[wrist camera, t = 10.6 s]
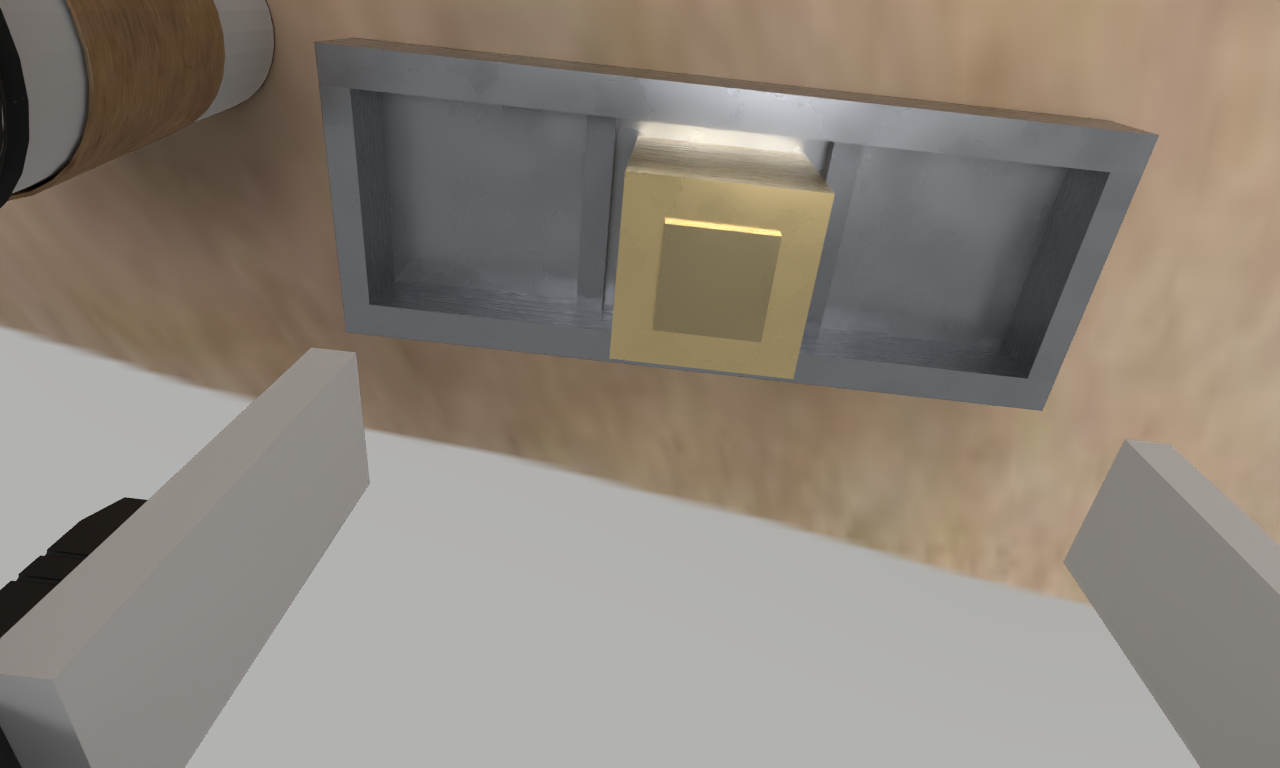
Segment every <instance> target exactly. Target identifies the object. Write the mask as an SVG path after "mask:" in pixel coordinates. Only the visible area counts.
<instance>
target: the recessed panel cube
mask: <svg viewBox="0 0 1280 768" xmlns="http://www.w3.org/2000/svg"><path fill="white" fill-rule="evenodd" d="M834 196H835V194H834V192H833V191H832V190H831V188H830V187H829V186H828V184H827V183H826V182H825V180H824V179H823V178H822V176H821V175H820V174H819V172H818V171H817V170H816V168H815V167H814V166H813V164H812V163H811V162H810V160H809V159H808V158H807V156H806V155H805V154H800V153H791V152H782V151H773V150H764V149H755V148H746V147H737V146H728V145H719V144H710V143H701V142H692V141H683V140H674V139H665V138H656V137H647V136H638V137H637V140H636V143H635V145H634V148H633V151H632V154H631V156H630V159H629V162H628V164H627V167H626V170H625V179H624V190H623V202H622V214H621V226H620V238H619V249H618V261H617V273H616V285H615V297H614V309H613V320H612V332H611V344H610V356H609V358H610V359H619V360H627V361H636V362H645V363H654V364H663V365H672V366H680V367H689V368H698V369H707V370H716V371H725V372H734V373H742V374H751V375H760V376H769V377H778V378H787V379H793V378H794V373H795V369H796V364H797V360H798V355H799V351H800V347H801V342H802V338H803V333H804V329H805V324H806V320H807V315H808V311H809V307H810V302H811V298H812V293H813V289H814V284H815V280H816V275H817V271H818V267H819V262H820V258H821V253H822V249H823V244H824V240H825V236H826V231H827V227H828V222H829V218H830V213H831V209H832V204H833V200H834Z"/></svg>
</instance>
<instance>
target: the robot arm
mask: <svg viewBox="0 0 1280 768" xmlns="http://www.w3.org/2000/svg"><path fill="white" fill-rule="evenodd" d="M368 485H369V474H368V463H367V454H366V444H365V434H364V425H363V415H362V405H361V396H360V386H359V377H358V367H357V357H356V352H348V351H339V350H330V349H321V348H312V347H311V348H310V349H309V350H308V351H307V352H306V353H305V354H304V355H303V356H302V357H300V358H299V359H298V360H297V361H296V362H295V363H294V364H293V365H292V366H291V367H290V368H289V369H288V370H287V371H286V372H284V373H283V374H282V375H281V376H280V377H279V378H278V379H277V380H276V381H275V382H274V383H273V384H272V385H271V386H269V387H268V388H267V389H266V390H265V391H264V392H263V393H262V394H261V395H260V396H259V397H258V398H257V399H256V400H255V401H253V402H252V403H251V404H250V405H249V406H248V407H247V408H246V409H245V410H244V411H243V412H242V413H241V414H240V415H238V416H237V417H236V418H235V419H234V420H233V421H232V422H231V423H230V424H229V425H228V426H227V427H226V428H225V429H224V430H222V432H220V433H219V434H218V435H217V436H216V437H215V438H214V439H213V440H212V441H211V442H210V443H209V444H207V445H206V446H205V447H204V448H203V449H202V450H201V451H200V452H199V453H198V454H197V455H196V456H195V457H194V458H193V459H192V460H190V461H189V462H188V463H187V464H186V465H185V466H184V467H183V468H182V469H181V470H180V471H179V472H178V473H176V474H175V475H174V476H173V477H172V478H171V479H170V480H169V481H168V482H167V483H166V484H165V485H164V486H163V487H162V488H160V490H158V491H157V492H156V493H155V494H154V495H153V496H152V497H151V498H150V499H149V500H142V499H134V498H123V499H121V500H119V501H117V502H115V503H113V504H111V505H109V506H107V507H106V508H104V509H102V510H100V511H98V512H96V513H94V514H93V515H90V516H88V517H87V518H85V519H83V520H81V521H80V522H78V523H77V524H76V525H75V526H74V527H73V528H72V529H70V530H69V531H68V532H67V533H66V534H65V535H63V536H62V537H61V538H60V539H59V540H58V541H57V542H56V543H54V544H53V545H52V546H51V547H50V548H48V550H47V554H46V555H45V556H39V557H38V558H37V559H36V560H35V561H33V562H32V563H31V564H30V565H29V566H28V567H26V568H25V569H24V570H23V571H22V572H21V573H20V574H19V577H18V579H17V581H10V582H9V583H8V584H7V585H6V586H5V587H3V588H2V589H1V590H0V768H185V766H186V765H187V763H188V762H189V760H190V759H191V757H192V755H193V754H194V752H195V751H196V749H197V748H198V746H199V745H200V743H201V742H202V740H203V738H204V737H205V735H206V734H207V732H208V731H209V729H210V728H211V726H212V725H213V723H214V721H215V720H216V718H217V717H218V715H219V714H220V712H221V711H222V709H223V708H224V706H225V705H226V703H227V702H228V700H229V699H230V697H231V695H232V694H233V692H234V691H235V689H236V688H237V686H238V685H239V683H240V682H241V680H242V678H243V677H244V676H245V674H246V672H247V671H248V669H249V668H250V666H251V665H252V663H253V662H254V660H255V659H256V657H257V655H258V654H259V652H260V651H261V649H262V648H263V646H264V645H265V643H266V642H267V640H268V639H269V637H270V636H271V634H272V632H273V631H274V629H275V628H276V626H277V625H278V623H279V622H280V620H281V619H282V617H283V616H284V614H285V612H286V611H287V609H288V608H289V606H290V605H291V603H292V602H293V600H294V599H295V597H296V596H297V594H298V592H299V591H300V589H301V588H302V586H303V585H304V583H305V581H306V580H307V578H308V577H309V576H310V574H311V572H312V571H313V569H314V568H315V566H316V565H317V563H318V562H319V560H320V558H321V557H322V556H323V554H324V553H325V551H326V549H327V548H328V546H329V545H330V543H331V542H332V540H333V539H334V537H335V536H336V534H337V533H338V531H339V529H340V528H341V526H342V525H343V523H344V522H345V520H346V519H347V517H348V515H349V514H350V512H351V511H352V510H353V508H354V506H355V505H356V503H357V502H358V500H359V499H360V497H361V496H362V494H363V493H364V491H365V490H366V488H367V486H368ZM1064 564H1065V565H1066V567H1067V568H1068V570H1069V571H1070V573H1071V574H1072V576H1073V577H1074V579H1075V580H1076V582H1077V583H1078V585H1079V586H1080V588H1081V589H1082V591H1083V592H1084V594H1085V595H1086V597H1087V598H1088V600H1089V601H1090V603H1091V604H1092V606H1093V607H1094V609H1095V610H1096V612H1097V613H1098V615H1099V616H1100V618H1101V619H1102V621H1103V622H1104V624H1105V625H1106V627H1107V628H1108V630H1109V631H1110V632H1111V634H1112V636H1113V637H1114V639H1115V640H1116V642H1117V643H1118V645H1119V646H1120V648H1121V649H1122V651H1123V652H1124V654H1125V655H1126V657H1127V658H1128V660H1129V661H1130V663H1131V664H1132V666H1133V667H1134V669H1135V670H1136V672H1137V673H1138V675H1139V676H1140V678H1141V679H1142V680H1143V682H1144V684H1145V685H1146V686H1147V688H1148V690H1149V691H1150V693H1151V694H1152V696H1153V697H1154V699H1155V700H1156V702H1157V703H1158V705H1159V706H1160V708H1161V709H1162V710H1163V712H1164V714H1165V715H1166V717H1167V718H1168V719H1169V721H1170V723H1171V724H1172V726H1173V727H1174V729H1175V730H1176V731H1177V733H1178V734H1179V736H1180V737H1181V739H1182V741H1183V742H1184V744H1185V745H1186V747H1187V748H1188V749H1189V751H1190V753H1191V754H1192V755H1193V757H1194V758H1195V760H1196V761H1197V763H1198V765H1199V766H1200V767H1201V768H1280V545H1279V544H1277V543H1276V542H1275V541H1274V540H1273V539H1272V538H1271V537H1270V536H1269V535H1268V534H1267V533H1266V532H1265V531H1263V530H1262V529H1261V528H1260V527H1259V526H1258V525H1257V524H1256V523H1255V522H1254V521H1253V520H1252V519H1250V518H1249V517H1248V516H1247V515H1246V514H1245V513H1244V512H1243V511H1242V510H1241V509H1240V508H1239V507H1237V506H1236V505H1235V504H1234V503H1233V502H1232V501H1231V500H1230V499H1229V498H1228V497H1227V496H1226V495H1225V494H1223V493H1222V492H1221V491H1220V490H1219V489H1218V488H1217V487H1216V486H1215V485H1214V484H1213V483H1212V482H1210V481H1209V480H1208V479H1207V478H1206V477H1205V476H1204V475H1203V474H1202V473H1201V472H1200V471H1199V470H1197V469H1196V468H1195V467H1194V466H1193V465H1192V464H1191V463H1190V462H1189V461H1188V460H1187V459H1186V458H1184V457H1183V456H1182V455H1181V454H1180V453H1179V452H1178V451H1177V450H1176V449H1175V448H1174V447H1173V446H1172V445H1170V444H1163V443H1155V442H1146V441H1137V440H1128V439H1125V440H1124V442H1123V444H1122V446H1121V448H1120V450H1119V452H1118V454H1117V456H1116V458H1115V460H1114V462H1113V464H1112V466H1111V468H1110V470H1109V472H1108V474H1107V476H1106V478H1105V480H1104V482H1103V484H1102V486H1101V488H1100V490H1099V492H1098V494H1097V496H1096V498H1095V500H1094V502H1093V504H1092V506H1091V508H1090V510H1089V512H1088V514H1087V516H1086V518H1085V520H1084V522H1083V524H1082V526H1081V528H1080V530H1079V532H1078V534H1077V536H1076V538H1075V540H1074V542H1073V544H1072V546H1071V548H1070V550H1069V552H1068V554H1067V556H1066V558H1065V560H1064Z"/></svg>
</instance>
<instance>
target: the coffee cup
mask: <svg viewBox="0 0 1280 768" xmlns="http://www.w3.org/2000/svg"><path fill="white" fill-rule="evenodd" d="M273 50H274V34H273V25H272V21H271V16H270V12H269V8H268V6H267V3H266V1H265V0H0V208H1V207H2V206H3V205H4V204H5V203H6V202H7V201H9V200H13V199H18V198H22V197H27V196H31V195H34V194H37V193H39V192H41V191H43V190H46V189H48V188H50V187H52V186H55V185H57V184H59V183H61V182H64V181H66V180H68V179H70V178H73V177H75V176H77V175H79V174H81V173H84V172H86V171H88V170H90V169H93V168H95V167H97V166H99V165H102V164H104V163H106V162H108V161H111V160H113V159H115V158H117V157H120V156H122V155H124V154H126V153H129V152H131V151H133V150H135V149H138V148H140V147H142V146H144V145H147V144H149V143H151V142H153V141H155V140H158V139H160V138H162V137H164V136H167V135H169V134H171V133H173V132H176V131H178V130H180V129H182V128H184V127H186V126H188V125H190V124H192V123H194V122H196V121H199V120H202V119H204V118H207V117H209V116H212V115H214V114H217V113H220V112H222V111H225V110H227V109H229V108H232V107H234V106H236V105H238V104H240V103H242V102H244V101H245V100H247V99H249V98H250V97H251V96H252V95H253V94H254V93H255V92H257V91H258V90H259V88H260V87H261V85H262V84H263V82H264V81H265V79H266V78H267V75H268V72H269V69H270V67H271V64H272V58H273Z"/></svg>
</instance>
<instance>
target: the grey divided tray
mask: <svg viewBox="0 0 1280 768" xmlns="http://www.w3.org/2000/svg"><path fill="white" fill-rule="evenodd" d="M314 43H315V52H316V61H317V71H318V80H319V89H320V98H321V107H322V116H323V125H324V134H325V143H326V153H327V162H328V171H329V180H330V189H331V198H332V207H333V216H334V225H335V234H336V244H337V253H338V262H339V271H340V280H341V289H342V298H343V307H344V316H345V326H346V332H349V333H358V334H367V335H375V336H384V337H393V338H402V339H411V340H420V341H429V342H437V343H446V344H455V345H464V346H473V347H482V348H491V349H500V350H508V351H517V352H526V353H535V354H544V355H553V356H562V357H570V358H579V359H588V360H597V361H606V362H615V363H624V364H632V365H641V366H650V367H659V368H668V369H677V370H686V371H695V372H703V373H712V374H721V375H730V376H739V377H748V378H757V379H765V380H774V381H783V382H792V383H801V384H810V385H819V386H828V387H836V388H845V389H854V390H863V391H872V392H881V393H890V394H898V395H907V396H916V397H925V398H934V399H943V400H952V401H960V402H969V403H978V404H987V405H996V406H1005V407H1014V408H1023V409H1031V410H1040V411H1042V410H1043V408H1044V405H1045V403H1046V401H1047V398H1048V396H1049V394H1050V391H1051V389H1052V387H1053V384H1054V382H1055V379H1056V377H1057V375H1058V372H1059V370H1060V368H1061V365H1062V363H1063V361H1064V358H1065V356H1066V353H1067V351H1068V349H1069V346H1070V344H1071V342H1072V339H1073V337H1074V335H1075V332H1076V330H1077V327H1078V325H1079V323H1080V320H1081V318H1082V316H1083V313H1084V311H1085V309H1086V306H1087V304H1088V302H1089V299H1090V297H1091V294H1092V292H1093V290H1094V287H1095V285H1096V283H1097V280H1098V278H1099V276H1100V273H1101V271H1102V268H1103V266H1104V264H1105V261H1106V259H1107V257H1108V254H1109V252H1110V250H1111V247H1112V245H1113V243H1114V240H1115V238H1116V235H1117V233H1118V231H1119V228H1120V226H1121V224H1122V221H1123V219H1124V217H1125V214H1126V212H1127V209H1128V207H1129V205H1130V202H1131V200H1132V198H1133V195H1134V193H1135V191H1136V188H1137V186H1138V184H1139V181H1140V179H1141V176H1142V174H1143V172H1144V169H1145V167H1146V165H1147V162H1148V160H1149V158H1150V155H1151V153H1152V150H1153V148H1154V146H1155V143H1156V141H1157V139H1158V136H1159V135H1157V134H1153V133H1150V132H1146V131H1143V130H1139V129H1136V128H1133V127H1129V126H1126V125H1122V124H1119V123H1115V122H1112V121H1107V120H1098V119H1089V118H1080V117H1070V116H1061V115H1052V114H1043V113H1034V112H1025V111H1016V110H1007V109H998V108H989V107H980V106H970V105H961V104H952V103H943V102H934V101H925V100H916V99H907V98H898V97H889V96H879V95H870V94H861V93H852V92H843V91H834V90H825V89H816V88H807V87H798V86H789V85H779V84H770V83H761V82H752V81H743V80H734V79H725V78H716V77H707V76H698V75H689V74H679V73H670V72H661V71H652V70H643V69H634V68H625V67H616V66H607V65H598V64H588V63H579V62H570V61H561V60H552V59H543V58H534V57H525V56H516V55H507V54H498V53H488V52H479V51H470V50H461V49H452V48H443V47H434V46H425V45H416V44H407V43H397V42H388V41H379V40H370V39H361V38H347V39H338V40H329V41H320V42H314ZM638 136H647V137H656V138H665V139H674V140H683V141H692V142H701V143H710V144H719V145H728V146H737V147H746V148H755V149H764V150H773V151H782V152H791V153H800V154H805V155H806V156H807V158H808V159H809V160H810V162H811V163H812V164H813V166H814V167H815V168H816V170H817V171H818V172H819V174H820V175H821V176H822V178H823V179H824V180H825V182H826V183H827V184H828V186H829V187H830V188H831V190H832V191H833V192H834V194H835V196H834V200H833V204H832V209H831V213H830V218H829V222H828V227H827V231H826V236H825V240H824V244H823V249H822V253H821V258H820V262H819V267H818V271H817V275H816V280H815V284H814V289H813V293H812V298H811V302H810V307H809V311H808V315H807V320H806V324H805V329H804V333H803V338H802V342H801V347H800V351H799V355H798V360H797V364H796V369H795V373H794V378H793V379H787V378H778V377H769V376H760V375H751V374H742V373H734V372H725V371H716V370H707V369H698V368H689V367H680V366H672V365H663V364H654V363H645V362H636V361H627V360H619V359H610V358H609V356H610V344H611V332H612V320H613V309H614V297H615V285H616V273H617V261H618V249H619V238H620V226H621V214H622V202H623V190H624V179H625V170H626V167H627V164H628V162H629V159H630V156H631V154H632V151H633V148H634V145H635V143H636V140H637V137H638Z"/></svg>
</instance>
